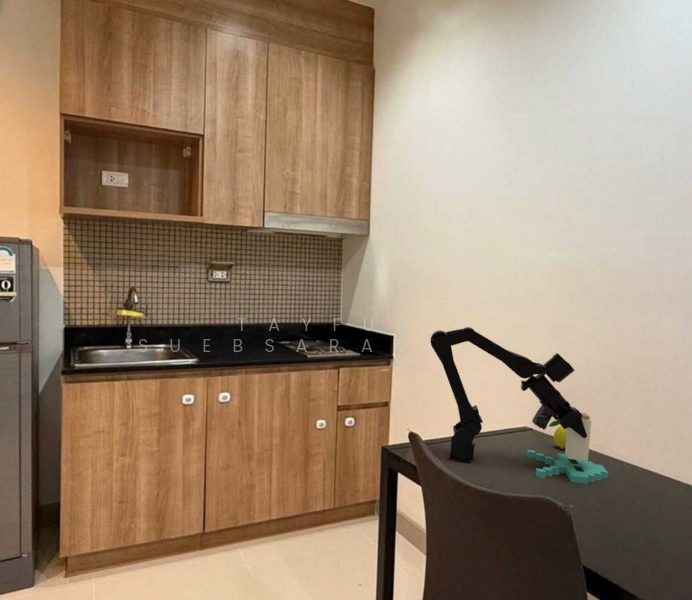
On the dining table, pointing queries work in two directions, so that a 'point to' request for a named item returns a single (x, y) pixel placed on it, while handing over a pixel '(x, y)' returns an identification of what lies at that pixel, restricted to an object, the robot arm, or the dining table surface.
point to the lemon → (559, 435)
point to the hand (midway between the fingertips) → (583, 434)
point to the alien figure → (569, 468)
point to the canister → (578, 441)
